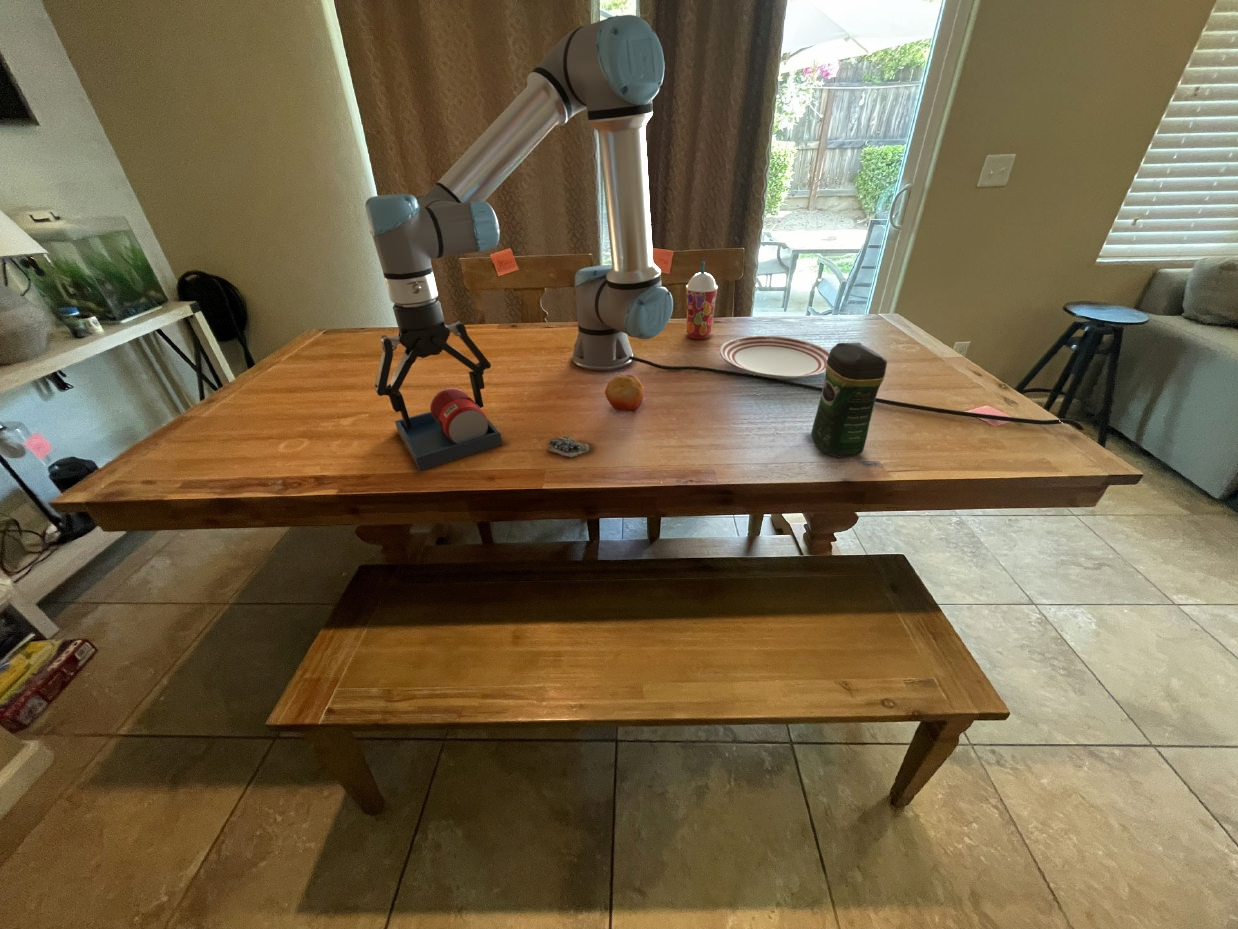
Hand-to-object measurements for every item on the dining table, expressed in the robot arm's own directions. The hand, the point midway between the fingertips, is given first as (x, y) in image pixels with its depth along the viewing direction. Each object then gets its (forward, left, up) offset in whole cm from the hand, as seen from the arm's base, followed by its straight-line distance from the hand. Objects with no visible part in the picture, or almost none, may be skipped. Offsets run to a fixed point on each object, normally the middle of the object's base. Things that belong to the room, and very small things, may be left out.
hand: (444, 414), depth 95 cm
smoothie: (-50, -61, -5) cm, 79 cm away
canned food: (-6, +4, -1) cm, 7 cm away
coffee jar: (-73, -2, -5) cm, 73 cm away
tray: (0, 0, -5) cm, 5 cm away
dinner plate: (-68, -40, -5) cm, 79 cm away
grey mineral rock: (-24, +2, -5) cm, 24 cm away
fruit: (-33, -15, -5) cm, 36 cm away
